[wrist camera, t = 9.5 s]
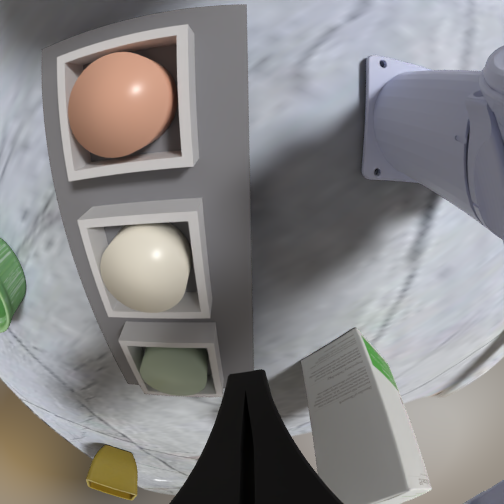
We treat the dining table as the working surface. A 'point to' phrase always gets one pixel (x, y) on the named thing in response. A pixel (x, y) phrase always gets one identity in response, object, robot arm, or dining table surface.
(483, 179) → the robot arm
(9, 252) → the ramekin
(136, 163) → the button panel
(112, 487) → the flower pot
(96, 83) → the terracotta button
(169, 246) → the cream button
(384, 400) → the skincare box
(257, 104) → the dining table surface
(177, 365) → the sage button
